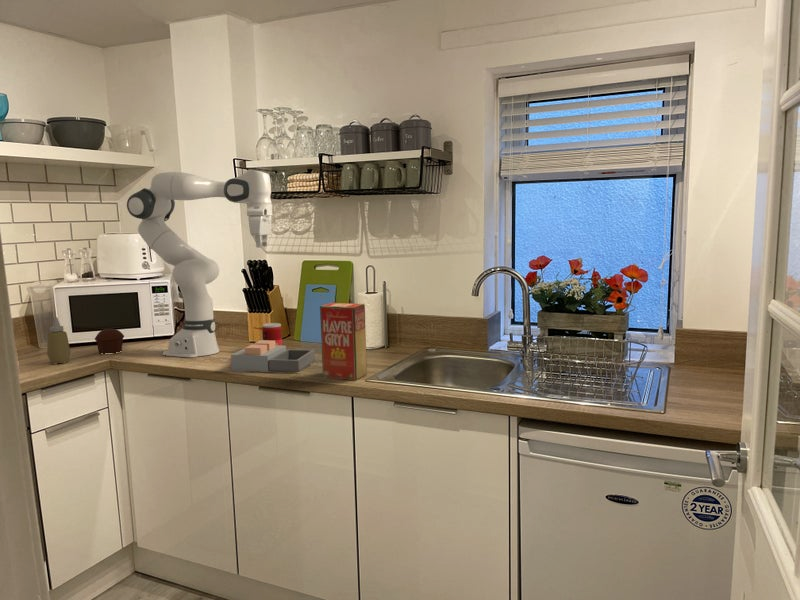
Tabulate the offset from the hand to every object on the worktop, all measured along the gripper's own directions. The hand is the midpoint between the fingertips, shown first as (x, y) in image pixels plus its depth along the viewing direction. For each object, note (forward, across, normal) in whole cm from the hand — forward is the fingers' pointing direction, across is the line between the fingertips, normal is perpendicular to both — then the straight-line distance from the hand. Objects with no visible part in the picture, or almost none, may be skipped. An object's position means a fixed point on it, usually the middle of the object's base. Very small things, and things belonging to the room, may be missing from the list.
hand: (261, 247), depth 240 cm
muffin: (+44, -13, -69) cm, 83 cm away
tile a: (+38, +21, +1) cm, 43 cm away
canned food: (+44, -12, 0) cm, 45 cm away
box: (+44, +18, +14) cm, 49 cm away
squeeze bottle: (+44, +6, -80) cm, 92 cm away
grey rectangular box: (+44, +16, +1) cm, 47 cm away
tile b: (+38, +13, +3) cm, 40 cm away
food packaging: (+44, +33, +35) cm, 65 cm away
